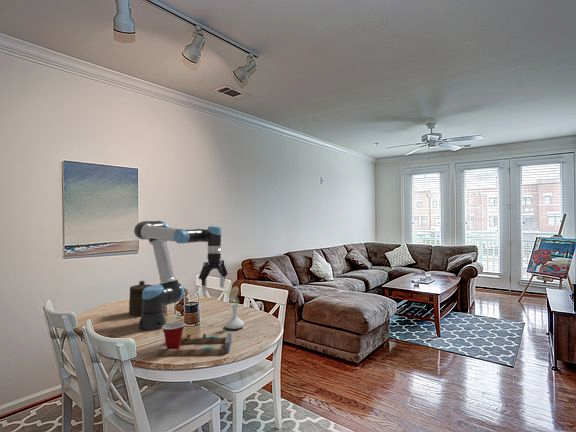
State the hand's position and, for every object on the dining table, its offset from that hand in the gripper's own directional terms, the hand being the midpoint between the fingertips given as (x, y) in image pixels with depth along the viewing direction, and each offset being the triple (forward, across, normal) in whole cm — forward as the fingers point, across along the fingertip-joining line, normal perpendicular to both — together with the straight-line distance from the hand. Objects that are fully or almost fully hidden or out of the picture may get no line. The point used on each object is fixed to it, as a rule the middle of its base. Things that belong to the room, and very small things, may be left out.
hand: (213, 289), depth 190 cm
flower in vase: (+24, +10, -8) cm, 27 cm away
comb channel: (+23, -24, -13) cm, 36 cm away
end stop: (+23, -14, -26) cm, 37 cm away
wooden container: (+24, -6, +62) cm, 67 cm away
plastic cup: (+24, -31, -5) cm, 39 cm away
